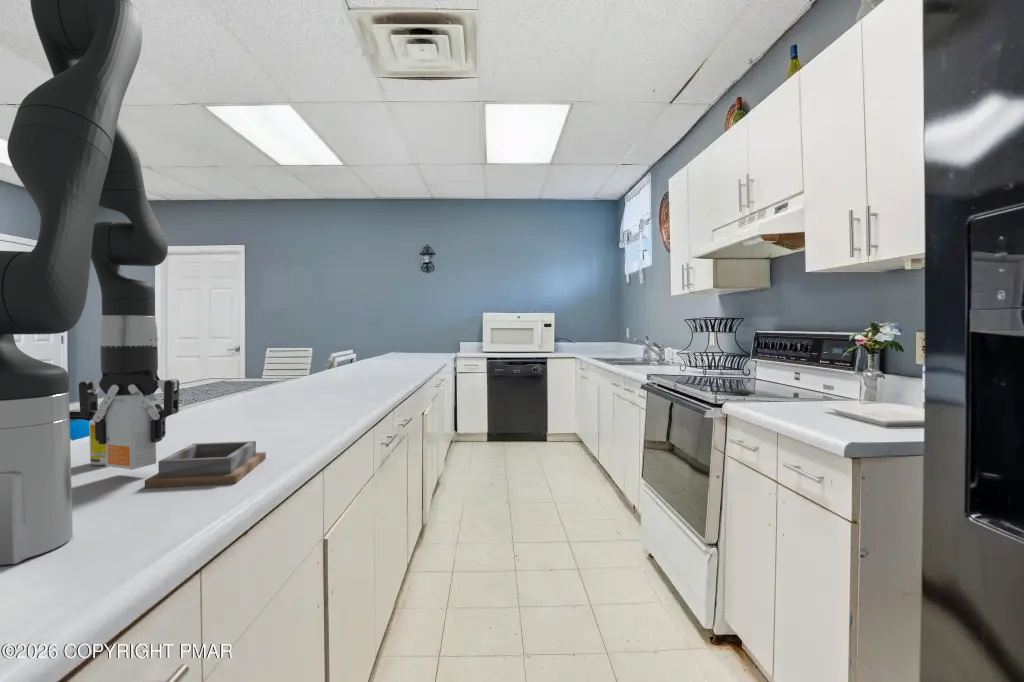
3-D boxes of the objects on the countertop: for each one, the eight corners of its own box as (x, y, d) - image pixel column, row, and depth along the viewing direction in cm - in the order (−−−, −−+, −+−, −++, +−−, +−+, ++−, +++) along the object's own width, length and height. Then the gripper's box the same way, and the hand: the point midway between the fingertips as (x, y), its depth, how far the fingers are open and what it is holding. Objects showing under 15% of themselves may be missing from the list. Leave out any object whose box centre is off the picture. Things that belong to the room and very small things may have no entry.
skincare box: (104, 467, 81) (103, 394, 81) (131, 461, 85) (130, 391, 85) (131, 470, 79) (130, 396, 79) (157, 463, 83) (156, 392, 83)
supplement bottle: (130, 462, 90) (128, 407, 90) (90, 468, 87) (88, 410, 86) (128, 456, 94) (127, 403, 94) (90, 461, 91) (89, 406, 91)
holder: (235, 483, 78) (235, 460, 78) (144, 488, 76) (144, 464, 76) (265, 458, 93) (265, 439, 93) (190, 461, 91) (189, 441, 91)
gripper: (64, 344, 77) (65, 449, 77) (166, 343, 79) (167, 445, 79) (95, 343, 84) (97, 439, 84) (187, 342, 86) (189, 436, 87)
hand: (131, 442), depth 82 cm, fingers closed on skincare box, 7 cm apart
